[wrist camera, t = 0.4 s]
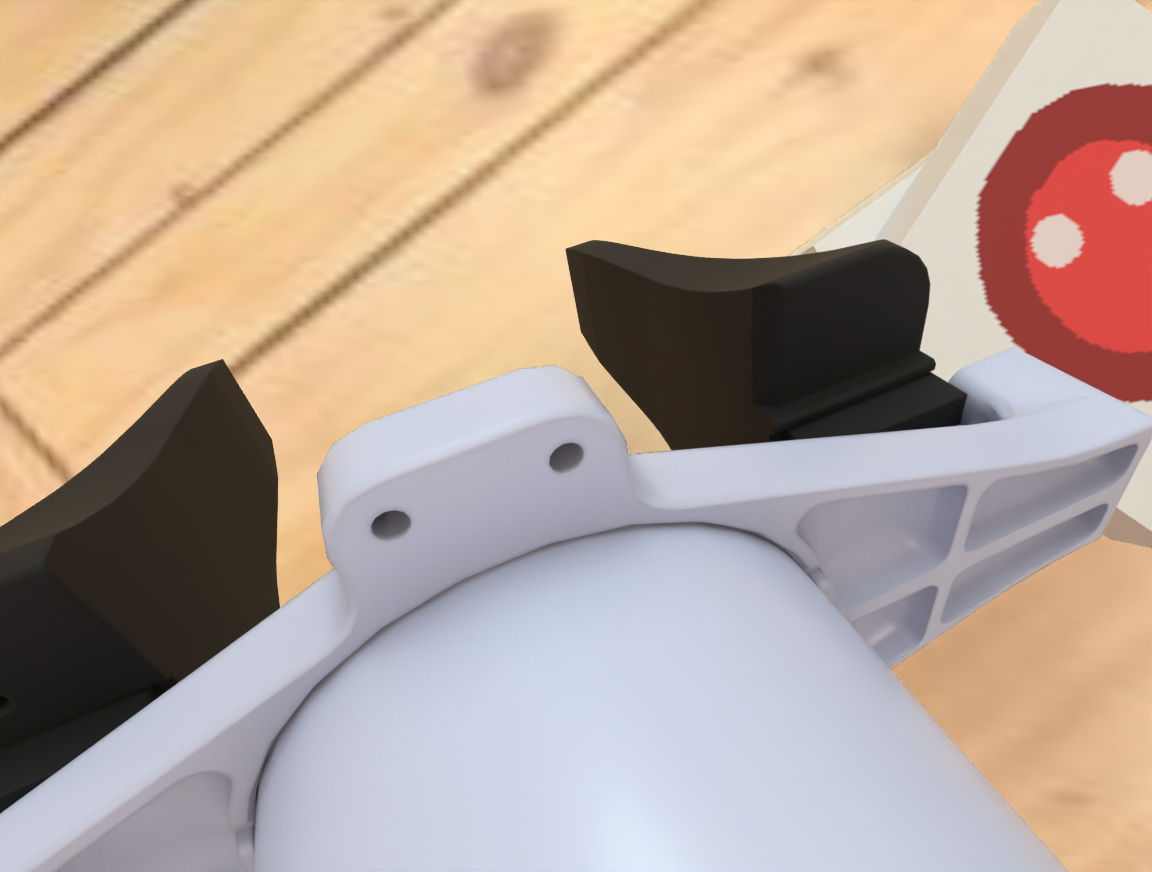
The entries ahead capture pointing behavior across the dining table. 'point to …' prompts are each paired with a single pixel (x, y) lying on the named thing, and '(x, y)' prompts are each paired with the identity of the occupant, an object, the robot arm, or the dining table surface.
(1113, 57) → the pizza boxes
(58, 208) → the dining table surface
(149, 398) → the dining table surface
